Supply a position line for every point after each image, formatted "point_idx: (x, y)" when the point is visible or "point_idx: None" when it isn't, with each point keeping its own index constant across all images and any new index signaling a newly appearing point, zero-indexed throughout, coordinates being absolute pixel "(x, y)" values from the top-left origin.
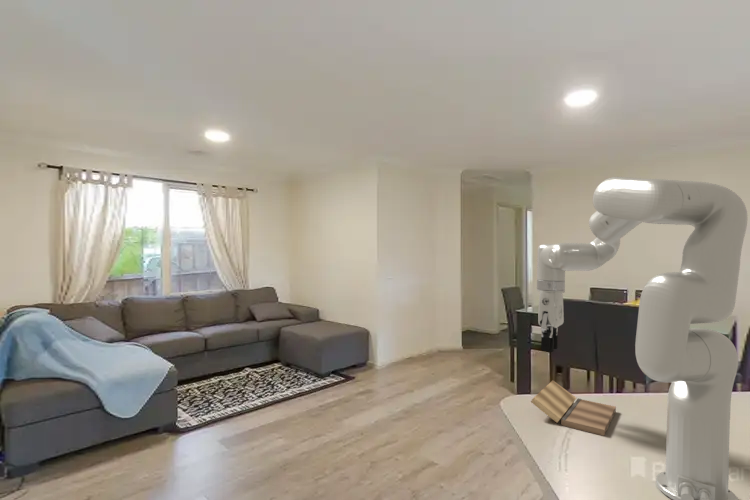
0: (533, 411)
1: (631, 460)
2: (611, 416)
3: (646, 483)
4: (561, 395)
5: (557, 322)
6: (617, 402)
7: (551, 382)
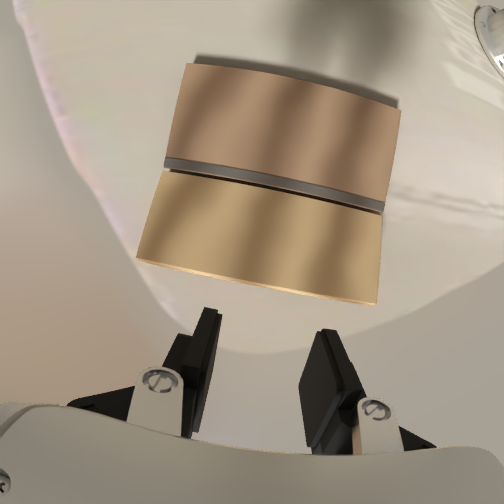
0: None
1: (468, 91)
2: (275, 75)
3: None
4: (219, 218)
5: (464, 490)
6: (103, 73)
7: (164, 260)
